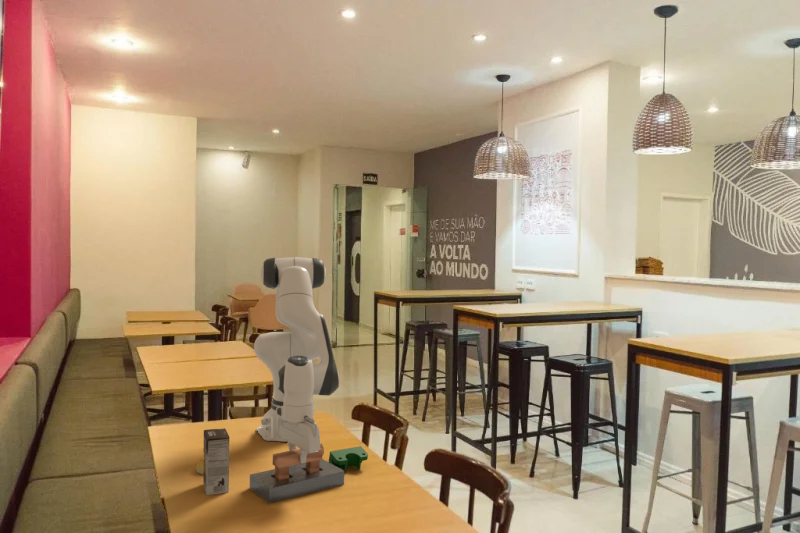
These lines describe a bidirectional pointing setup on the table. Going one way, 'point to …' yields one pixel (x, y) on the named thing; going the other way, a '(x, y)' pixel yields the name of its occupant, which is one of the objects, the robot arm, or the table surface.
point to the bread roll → (200, 466)
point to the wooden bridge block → (295, 462)
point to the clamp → (348, 457)
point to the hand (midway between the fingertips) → (297, 459)
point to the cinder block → (296, 481)
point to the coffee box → (216, 461)
